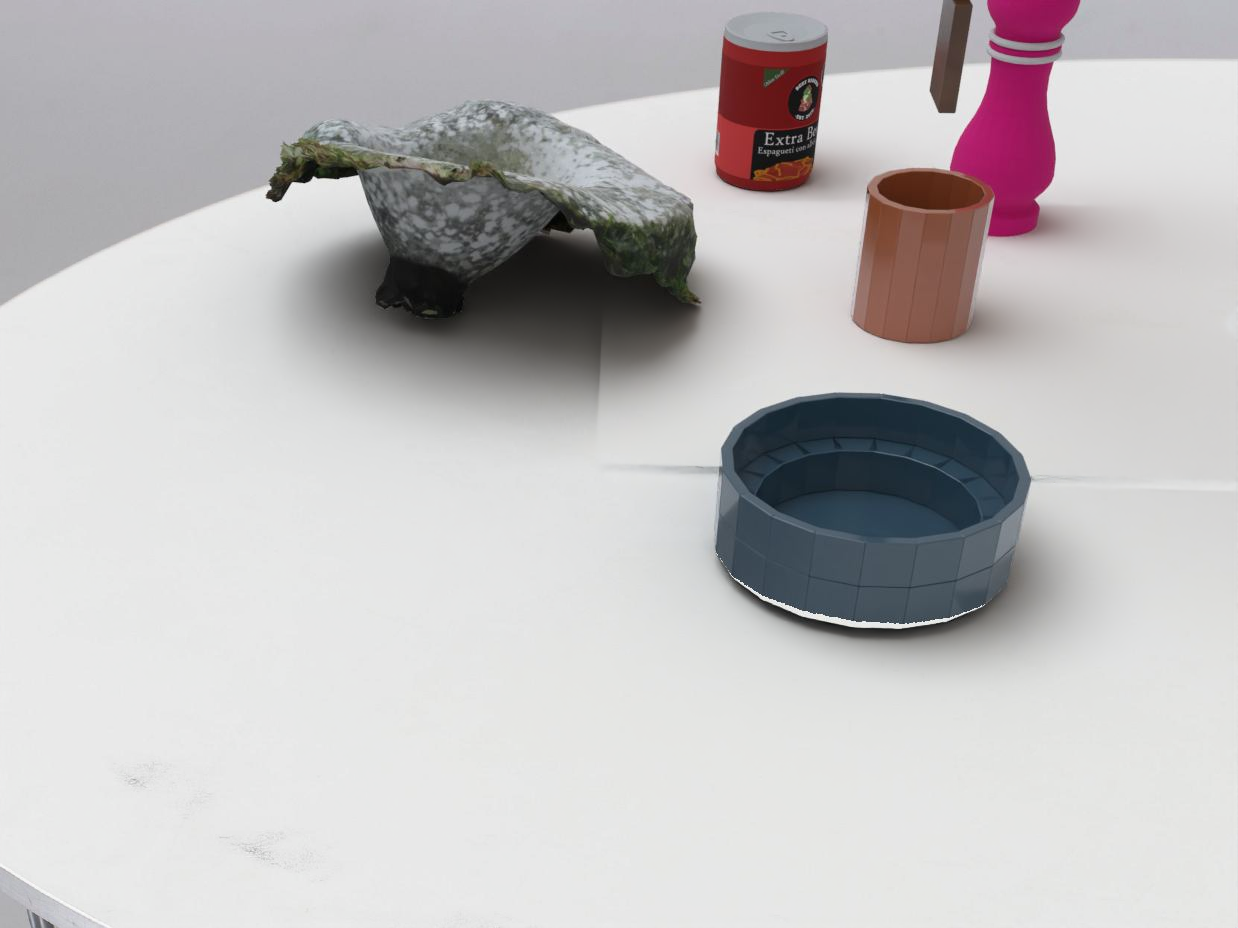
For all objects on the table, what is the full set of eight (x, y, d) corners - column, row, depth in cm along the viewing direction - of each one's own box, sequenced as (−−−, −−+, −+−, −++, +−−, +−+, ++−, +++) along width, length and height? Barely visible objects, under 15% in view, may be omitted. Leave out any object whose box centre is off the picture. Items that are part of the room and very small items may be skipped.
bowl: (983, 485, 92) (1001, 395, 88) (1033, 644, 80) (1056, 548, 76) (709, 478, 93) (716, 388, 89) (718, 634, 81) (727, 538, 77)
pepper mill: (1024, 254, 116) (1086, -52, 104) (926, 234, 119) (974, -66, 107) (1055, 220, 121) (1117, -77, 108) (959, 201, 124) (1010, -89, 111)
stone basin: (226, 300, 94) (243, 16, 90) (278, 300, 122) (292, 85, 119) (732, 353, 95) (770, 77, 91) (666, 341, 124) (692, 130, 120)
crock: (959, 302, 110) (983, 168, 105) (977, 353, 104) (1003, 214, 99) (844, 300, 111) (862, 166, 105) (856, 350, 105) (875, 212, 99)
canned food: (758, 200, 125) (772, 48, 118) (692, 169, 130) (701, 22, 123) (834, 178, 128) (852, 30, 121) (766, 149, 133) (779, 5, 126)
